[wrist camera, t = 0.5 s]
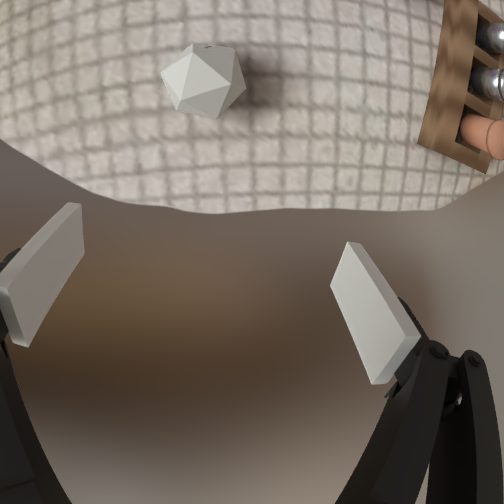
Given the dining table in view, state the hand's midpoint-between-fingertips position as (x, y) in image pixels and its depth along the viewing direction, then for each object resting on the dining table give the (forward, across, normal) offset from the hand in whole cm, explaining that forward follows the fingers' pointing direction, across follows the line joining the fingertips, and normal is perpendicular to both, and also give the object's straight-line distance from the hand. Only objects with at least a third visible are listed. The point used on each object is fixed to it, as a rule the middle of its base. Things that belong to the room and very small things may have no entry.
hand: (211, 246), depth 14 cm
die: (+28, -3, +8) cm, 29 cm away
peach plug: (+23, +34, +12) cm, 42 cm away
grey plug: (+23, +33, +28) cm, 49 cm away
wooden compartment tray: (+27, +34, +20) cm, 48 cm away
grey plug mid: (+23, +34, +20) cm, 45 cm away
